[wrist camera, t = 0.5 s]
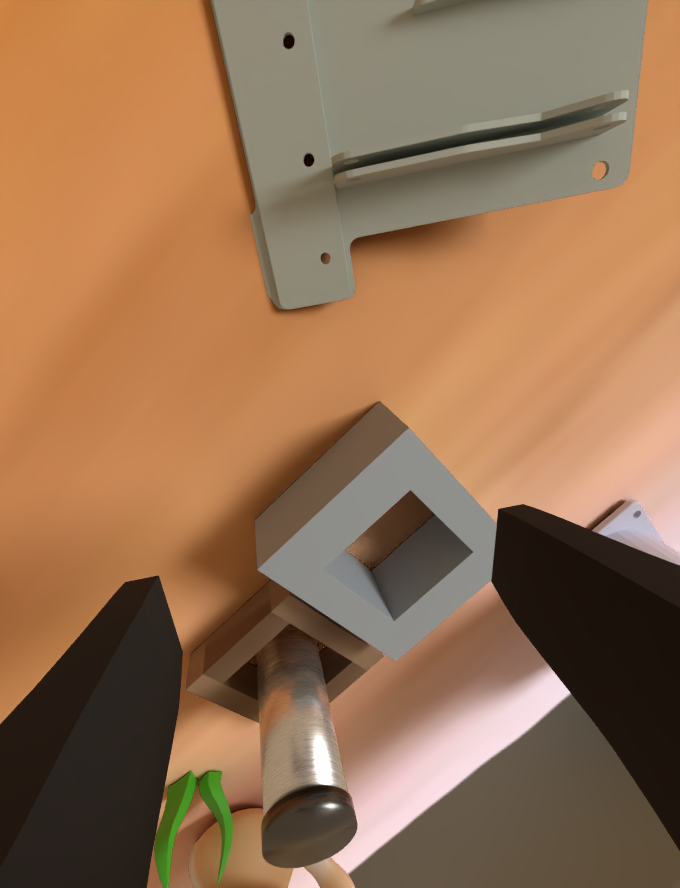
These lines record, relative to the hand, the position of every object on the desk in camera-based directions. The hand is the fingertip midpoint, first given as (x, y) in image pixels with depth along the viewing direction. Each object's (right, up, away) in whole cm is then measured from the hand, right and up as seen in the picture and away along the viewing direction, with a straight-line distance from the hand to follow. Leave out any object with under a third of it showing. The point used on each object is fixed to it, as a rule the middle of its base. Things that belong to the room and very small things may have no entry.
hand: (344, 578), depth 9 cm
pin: (-3, -8, +14) cm, 16 cm away
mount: (-3, -8, +14) cm, 16 cm away
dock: (+2, -1, +12) cm, 12 cm away
